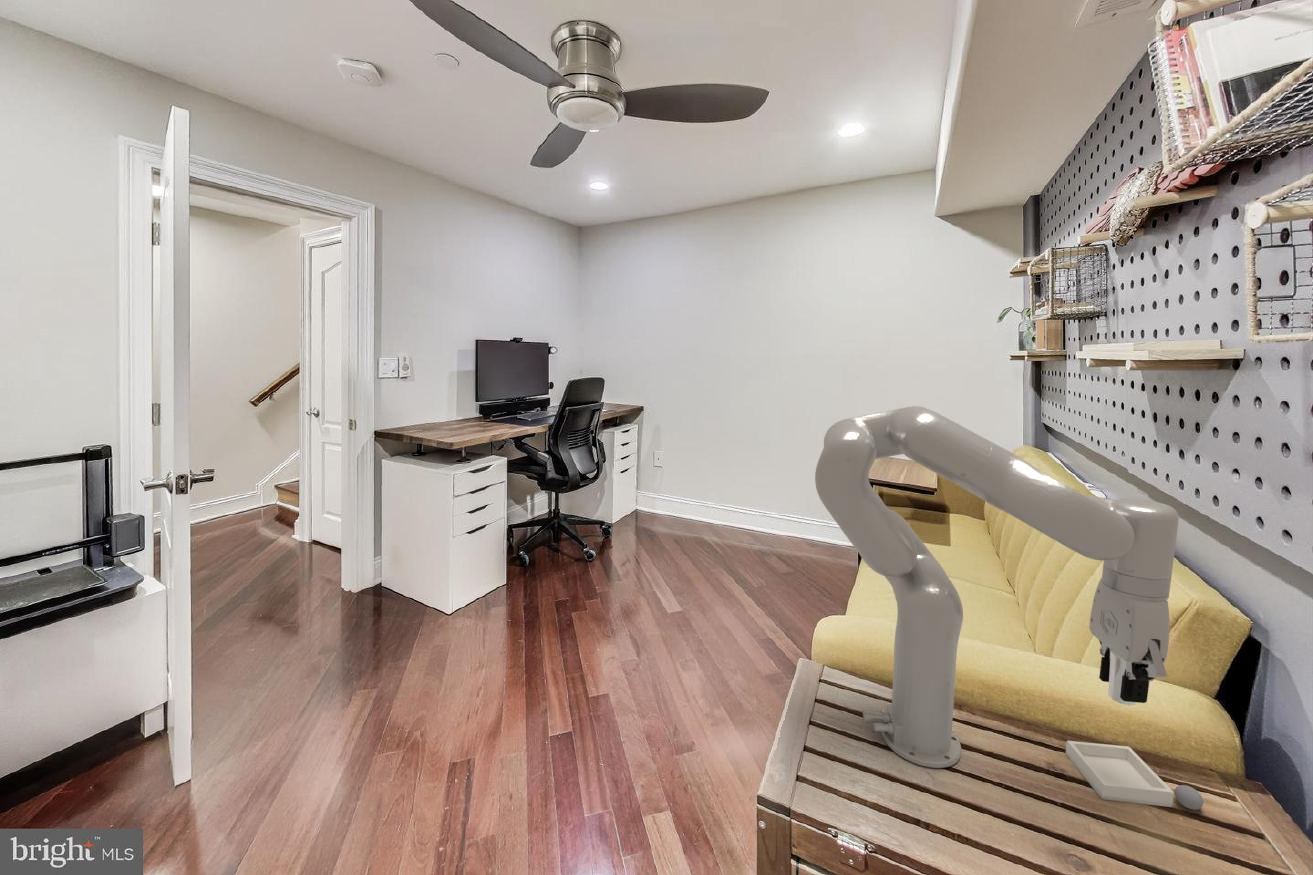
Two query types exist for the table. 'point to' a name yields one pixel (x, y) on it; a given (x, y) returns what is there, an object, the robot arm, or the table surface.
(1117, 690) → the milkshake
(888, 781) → the table surface
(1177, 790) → the ball
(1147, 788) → the tray
